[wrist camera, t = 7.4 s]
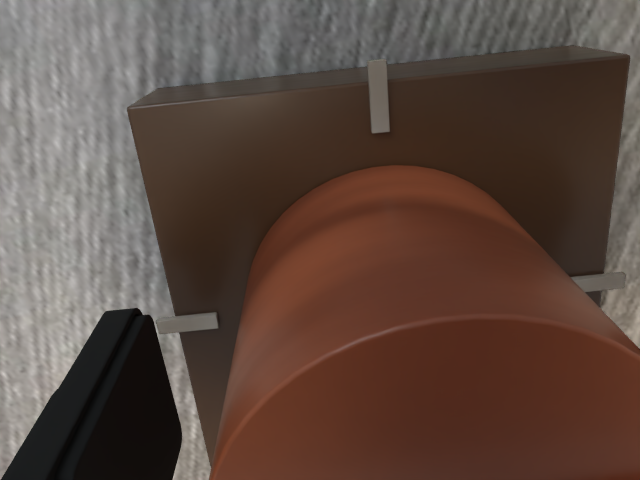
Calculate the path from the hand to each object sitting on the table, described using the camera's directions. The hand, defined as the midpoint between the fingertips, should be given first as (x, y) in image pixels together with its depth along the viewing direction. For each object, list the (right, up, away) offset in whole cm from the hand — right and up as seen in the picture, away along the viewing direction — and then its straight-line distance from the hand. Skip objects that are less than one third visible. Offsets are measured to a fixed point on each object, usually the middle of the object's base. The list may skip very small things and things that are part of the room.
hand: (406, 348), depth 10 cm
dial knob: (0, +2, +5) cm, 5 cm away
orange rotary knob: (0, +1, +3) cm, 3 cm away
